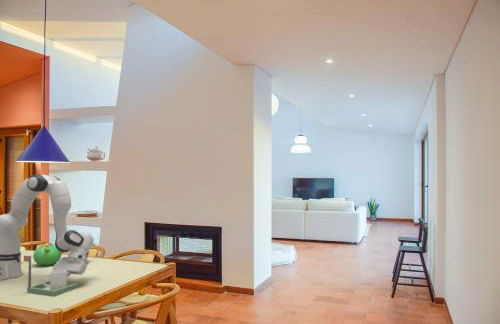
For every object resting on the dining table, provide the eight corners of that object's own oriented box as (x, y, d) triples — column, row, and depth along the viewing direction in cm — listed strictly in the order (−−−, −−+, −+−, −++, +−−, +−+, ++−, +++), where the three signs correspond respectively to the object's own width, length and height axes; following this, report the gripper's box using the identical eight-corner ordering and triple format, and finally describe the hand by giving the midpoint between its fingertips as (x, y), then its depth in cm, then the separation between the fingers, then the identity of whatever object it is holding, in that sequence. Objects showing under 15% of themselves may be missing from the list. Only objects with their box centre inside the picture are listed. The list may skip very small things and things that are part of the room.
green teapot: (52, 261, 293) (52, 240, 293) (67, 264, 284) (67, 243, 285) (28, 266, 277) (28, 244, 278) (42, 269, 269) (43, 247, 269)
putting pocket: (47, 283, 235) (48, 249, 236) (78, 287, 228) (79, 252, 228) (21, 291, 219) (22, 255, 219) (54, 296, 211) (55, 258, 212)
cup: (65, 290, 221) (65, 272, 221) (41, 292, 217) (41, 273, 218) (67, 286, 229) (67, 268, 229) (43, 288, 225) (44, 270, 225)
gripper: (58, 254, 239) (45, 274, 230) (86, 256, 232) (73, 277, 223) (64, 259, 243) (51, 280, 234) (91, 262, 237) (79, 283, 227)
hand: (62, 279), depth 228 cm, fingers closed, pressing on cup
